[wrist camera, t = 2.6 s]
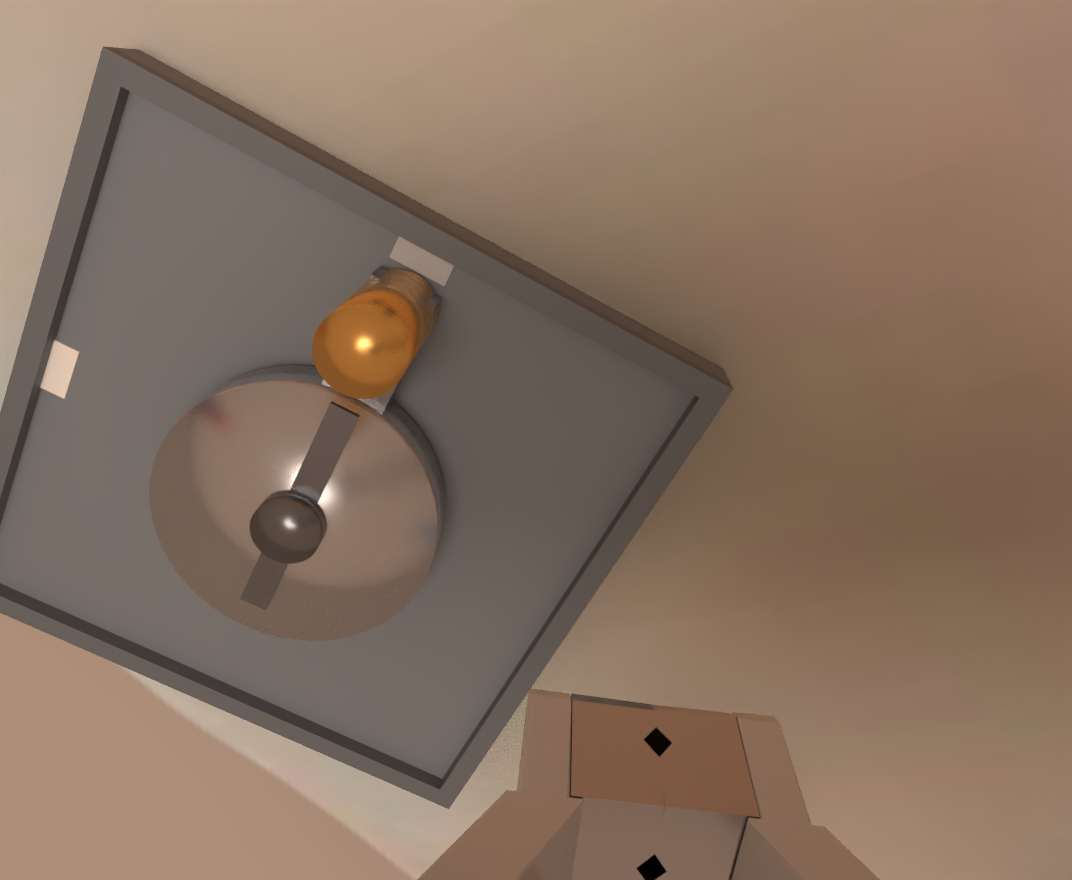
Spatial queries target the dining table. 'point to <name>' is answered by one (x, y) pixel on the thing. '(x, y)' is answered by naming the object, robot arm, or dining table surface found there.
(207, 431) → the dial
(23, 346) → the dial plate
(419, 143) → the dining table surface
